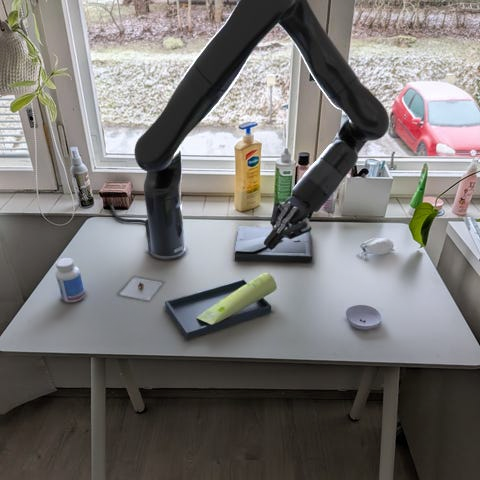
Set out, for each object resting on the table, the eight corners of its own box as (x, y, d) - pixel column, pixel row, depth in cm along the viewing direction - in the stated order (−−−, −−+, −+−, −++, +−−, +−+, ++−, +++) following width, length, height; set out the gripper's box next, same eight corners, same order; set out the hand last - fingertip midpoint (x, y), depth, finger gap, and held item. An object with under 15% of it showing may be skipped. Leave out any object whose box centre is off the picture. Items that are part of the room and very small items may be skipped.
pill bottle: (89, 292, 123) (81, 258, 117) (77, 304, 119) (68, 270, 113) (70, 288, 125) (61, 254, 119) (57, 300, 121) (47, 265, 115)
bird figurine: (372, 268, 135) (398, 249, 138) (368, 246, 131) (395, 228, 134) (359, 263, 139) (384, 245, 142) (355, 242, 135) (381, 224, 138)
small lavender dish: (351, 307, 119) (353, 301, 118) (384, 318, 116) (386, 311, 114) (339, 325, 113) (340, 319, 112) (373, 337, 110) (375, 330, 109)
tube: (267, 266, 116) (197, 307, 109) (280, 283, 115) (211, 325, 108) (262, 278, 122) (195, 317, 115) (274, 294, 120) (208, 335, 113)
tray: (244, 284, 126) (244, 278, 125) (271, 312, 117) (271, 305, 116) (165, 307, 118) (164, 301, 117) (187, 339, 109) (186, 333, 108)
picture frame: (234, 260, 135) (311, 263, 134) (234, 251, 134) (312, 254, 133) (238, 232, 148) (309, 235, 147) (238, 223, 146) (310, 226, 145)
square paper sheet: (162, 282, 127) (162, 276, 126) (148, 300, 121) (147, 294, 120) (134, 277, 129) (133, 271, 127) (119, 294, 123) (117, 288, 121)
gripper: (291, 165, 112) (243, 226, 115) (326, 186, 103) (272, 252, 106) (309, 183, 117) (262, 241, 120) (344, 205, 108) (292, 267, 111)
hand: (267, 246), depth 113 cm, fingers closed
